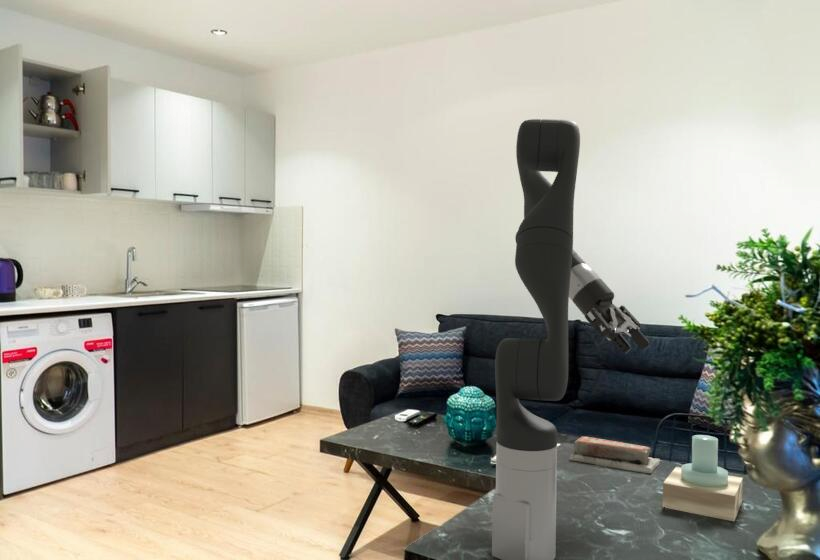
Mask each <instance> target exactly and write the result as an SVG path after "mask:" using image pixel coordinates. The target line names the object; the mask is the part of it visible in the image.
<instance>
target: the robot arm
mask: <svg viewBox="0 0 820 560" xmlns="http://www.w3.org/2000/svg"><path fill="white" fill-rule="evenodd" d="M580 148H581V132H580V128H579V125H578V124H577V123H576V122H575V121H574V120H567V119H553V118H552V119H550V118H549V119H548V118H547V119H546V118H545V119H543V118H542V119H541V118H535V119H534V118H532V119H526V120H524V121H522V122H521V123H520V125H519V128H518V132H517V137H516V147H515V149H516V150H515V151H516V152H515V153H516V154H515V155H516V164H517V168H518V169H517V170H518V176H519V180H520V183H521V184H520V185H521V189H522V193H523V220H522V221H521V223H520V225H519V227H518V230H517V232H516V234H515V244H516V245H515V247H516V248H515V256H514V264H515V265H514V266H515V270H516V271H517V274H518V277H519V278H520V280H521V282H522V283H523V284H524V285H523V286H525V288H526V289H527V291H528V293H529V294H530V296H531V297H532V299H533V300H534V303H535V304H536V305H537V308H538V310H539V312H540V314H541V316H542V318H543V320H544V323H545V326H546V331H547V338H546V339H538V338H517V337H511V338H510V337H509V338H508V337H507V338H503V339H502V340H500V342H499V343H498V344H497V347H496V352H495V361H494V371H495V372H494V375H495V376H494V378H495V396H496V397H495V398H496V399H495V401H496V448H495V449H496V452H495V453H496V454H495V493H494V494H493V495H492V513H491V515H492V516H491V517H492V522H491V525H492V526H491V527H492V528H491V529H492V531H491V533H492V534H491V556H492V557H494V558H497V559H499V560H555V558H556V553H557V552H556V546H557V545H556V543H557V542H556V541H557V534H556V533H557V530H556V529H557V474H558V473H557V472H558V471H557V468H558V467H557V463H558V430H557V427H556V425H554V424H553V423H552V422H550V421H549V420H547V419H544V418H542V417H539V416H537V415H535V414H533V413H532V412H531V411H529V410H527V408H525V407H524V406H523V404H522V403H520V400H530V401H531V400H532V401H533V400H534V401H545V402H546V401H548V402H549V401H550V402H557V401H561V400H562V399H563V398H564V396H565V394H566V391H567V389H568V388H567V387H568V381H569V301H570V300H571V301H572V303H573V304H574V305H575V306H576V307H577V309H578V310H579V311H580V312H581V313H582V315H583V316H584V318H585V319H586V320H587V321H586V322H588V323H589V324H590V326H591V327H592V328H593V329H594V330H595V332H596V333H597V334H598V336H599V337H600V338H601V339H603V340H604V339H605V338H606V339H607V340H608V341H610V342H612V344H613V345H614V346H615V347H616V348H617V350H618V351H619V352H620V353H621V354H622V355H626V354H627V353H628V352H630V351H631V350H632V345H631V344H630V343H629V342H628V340H627V339H626V338H625V337H624V336H623V335H622V333H625V334H627V336H629V337H630V339H631V340H632V341H633V342H634V344H636V345H637V347H638V348H639V349H640V350H641V351H645V350H647V349H648V347H650V346H651V341H649V340H648V338H647V337H646V336H645V335H644V334H643V332H641V329H640V328H642V323H640V322H639V320H637V318H636V317H635V316H634V315H633V314H632V313H631V312H630V310H628V309H627V308H626V307H625V306H624V305H623V304H621V305H620V306H619V307H618V306H616V305H615V304H614V303H613V300H614V298H615V293H614V291H612V290H611V288H610V287H609V286H608V285H607V284H606V283H605V282H604V280H603V279H602V278H601V277H600V276H599V275H598V273H596V271H595V270H594V269H593V268H591V267H590V266H589V265H588V264H587V263H586V262H585V261H584V259H583V258H581V256H580V255H579V254H578V253H577V251H575V250H574V205H575V191H576V185H577V184H576V183H577V175H578V167H579V158H580ZM542 172H550V173H551V172H553V173H554V172H555V173H557V174H556V176H555V177H554V180H553V182H550V181H549V179H548V178H546V177H545V176H544V174H543V173H542ZM569 299H570V300H569Z"/></svg>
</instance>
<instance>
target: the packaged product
mask: <svg viewBox="0 0 820 560" xmlns="http://www.w3.org/2000/svg"><path fill="white" fill-rule="evenodd" d="M651 450H652V449H651V447H649V446H645V445H639V444H634V443H633V444H632V443H627V442H623V441H615V440H608V439H603V438H597V437H591V436H585V435H584V436H583V435H582V436H581V437H579V438H578V439H576V440H575V441H574V442H573V453H571V454H570V458H569V459H570V461H573V462H574V461H575V462H579V463H587V464H589V465H590V464H591V465H597V466H602V467H607V466H609V467H608V468H613V469H614V468H615V469H619V470H625V471H629V472H630V471H631V472H638V473H643V474H649V473H651V474H652V473H653V472H654V470H656V468H657V467H658V466H659V465H660V462H661V461H660V460H661V459H660V458H657V457H655V458H653V457H649V456H650V454H651Z"/></svg>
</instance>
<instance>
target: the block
mask: <svg viewBox="0 0 820 560" xmlns="http://www.w3.org/2000/svg"><path fill="white" fill-rule="evenodd" d="M681 467H682V466H675V468H674V469H673V470H672V471H671V472H670V474H669V475H668V476H667V477H666V479H665V480H664V481H663V482H662V508H664V507H665V509H671V510H675V511H681V512H685V513H690V514H693V515H694V514H695V515H700V516H703V517H704V516H705V517H710V518H715V519H720V520H724V521H725V520H726V521H729V522H735V520H736V518H737V515H738V513H739V511H740V509H741V505H742V504H743V503H742V502H743V486H744V485H743V484H744V483H743V482H744V478H743V477H742V476H735V475H729V474H728V485H726V486H724V487H716V488H714V487H703V486H697V485H693V484H690V483H687V482H685V481H684V480H682V478H681Z"/></svg>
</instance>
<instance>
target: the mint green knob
mask: <svg viewBox="0 0 820 560" xmlns="http://www.w3.org/2000/svg"><path fill="white" fill-rule="evenodd" d="M691 439H692V440H691V463H690V462H689V463H685V464H682V465H681V466H680V467H681V478H682V480H684V481H685V482H687V483H690V484H693V485H697V486H703V487H714V488H716V487H724V486H726V485H728V475H729V472H728V471H729V470H727V469H725V468H723V467H720V466H718V463H719V462H718V456H719V455H718V454H719V451H718V450H719V439H718V438H717V437H715V436H711V435H706V434H695V435H692V436H691Z"/></svg>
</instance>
